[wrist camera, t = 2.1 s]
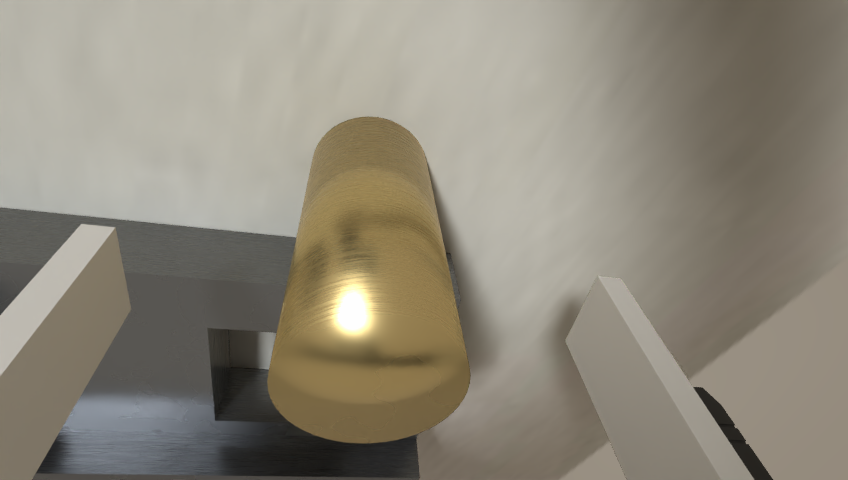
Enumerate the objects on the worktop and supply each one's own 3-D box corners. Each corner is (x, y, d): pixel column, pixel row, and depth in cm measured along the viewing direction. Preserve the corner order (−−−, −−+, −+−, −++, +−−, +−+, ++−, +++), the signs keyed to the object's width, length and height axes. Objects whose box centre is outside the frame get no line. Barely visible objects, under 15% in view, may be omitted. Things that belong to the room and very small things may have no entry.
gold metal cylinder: (316, 107, 17) (268, 306, 9) (437, 126, 18) (494, 322, 10) (308, 212, 20) (266, 441, 11) (415, 224, 20) (446, 445, 12)
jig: (-286, 178, 17) (-497, 272, 13) (450, 253, 21) (469, 338, 17) (-138, 383, 23) (-247, 490, 19) (407, 405, 28) (413, 494, 24)
